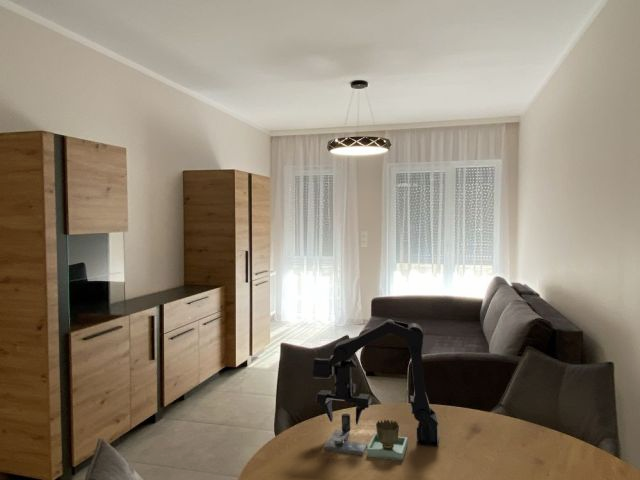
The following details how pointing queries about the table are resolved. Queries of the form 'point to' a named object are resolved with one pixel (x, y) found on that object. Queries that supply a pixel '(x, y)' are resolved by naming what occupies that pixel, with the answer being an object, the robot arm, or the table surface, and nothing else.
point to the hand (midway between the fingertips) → (344, 422)
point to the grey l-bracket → (345, 445)
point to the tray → (393, 454)
